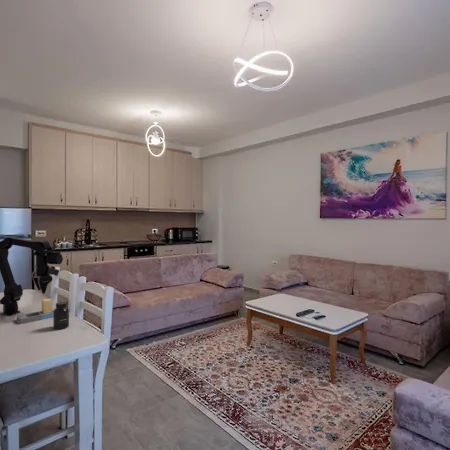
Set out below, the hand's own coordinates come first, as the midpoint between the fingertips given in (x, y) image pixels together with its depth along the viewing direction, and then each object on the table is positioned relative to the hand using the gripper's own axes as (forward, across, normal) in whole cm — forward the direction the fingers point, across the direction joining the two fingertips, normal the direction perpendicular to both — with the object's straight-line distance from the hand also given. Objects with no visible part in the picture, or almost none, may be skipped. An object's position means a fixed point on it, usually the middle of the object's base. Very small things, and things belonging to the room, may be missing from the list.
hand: (41, 291), depth 171 cm
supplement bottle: (+12, -29, -2) cm, 31 cm away
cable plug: (+12, -6, -2) cm, 14 cm away
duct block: (+12, -6, +2) cm, 14 cm away
